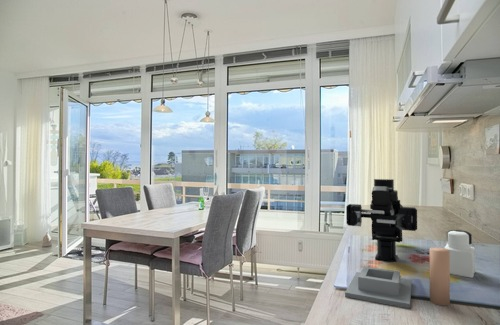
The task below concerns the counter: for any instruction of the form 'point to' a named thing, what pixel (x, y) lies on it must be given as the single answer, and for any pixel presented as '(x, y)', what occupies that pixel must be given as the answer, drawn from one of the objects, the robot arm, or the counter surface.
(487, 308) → the counter surface
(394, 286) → the socket
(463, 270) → the medicine bottle
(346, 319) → the counter surface
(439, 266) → the dowel
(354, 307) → the counter surface
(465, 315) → the counter surface
